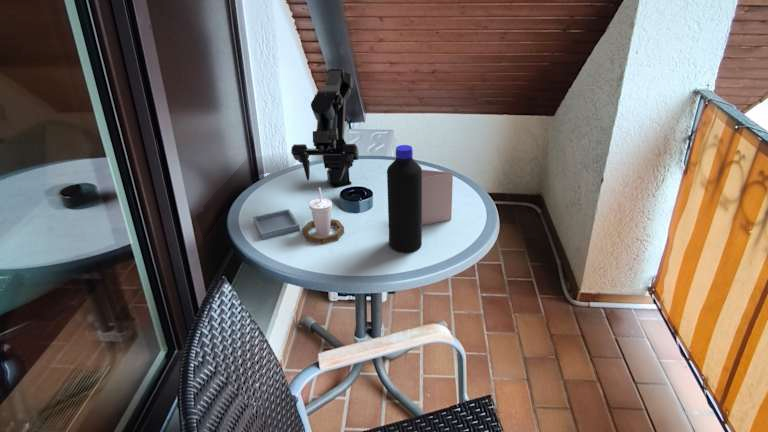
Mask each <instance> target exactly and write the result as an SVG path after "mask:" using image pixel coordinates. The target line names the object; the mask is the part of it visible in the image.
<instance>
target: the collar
mask: <svg viewBox="0 0 768 432" xmlns="http://www.w3.org/2000/svg"><path fill="white" fill-rule="evenodd" d="M330 227H334V228H336V229H337V230H336V232H334V233H330V234H329V235H327V236H323V237H320V236H318V235H312V234H310V231H311V230H312V229H316V228H315V224H314V220H310V221H308V222H307V223H306V224H305V225H304V226H303V227H302V228H301V231H302V232H301V233H302V236H303V237H304V239H305V240H306V242H307V243H310V244H311V243H312V244H317V245H325V244H329V243H334V242H337V241H339V240H340V239H341V237H342V236H343V235H344V234H345V227H344V225H343V224H342V223H341V221H340V220H338V219H334V218H333V219H332V218H331V222H330Z"/></svg>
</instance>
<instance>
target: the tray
mask: <svg viewBox="0 0 768 432" xmlns="http://www.w3.org/2000/svg"><path fill="white" fill-rule="evenodd" d="M291 211H292V210H290V209H289V208H286V209H283V210H278V211H274V212H269V213H265V214H261V215H257V216H256V215H255V216H253V217H252V222H253V225H254V227H255V229H256V231H257V232H258V235H259V236H260V238H261V241H264V240H268V239H272V238H277V237H281V236H285V235H289V234H293V233H298V232H301V227H300V224H299V222H298V220H297V219H296V217H295V216H294V215H293V213H292V212H291Z"/></svg>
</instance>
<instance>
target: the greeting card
mask: <svg viewBox="0 0 768 432" xmlns="http://www.w3.org/2000/svg"><path fill="white" fill-rule="evenodd" d="M453 175H454V172H449V171H437V170H428V169H422V226H424V225H430V224H435V223H441V222H447V221H451V220H452V212H453V211H452V210H453V209H452V208H453V185H454V184H453V177H454V176H453Z"/></svg>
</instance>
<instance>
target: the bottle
mask: <svg viewBox="0 0 768 432" xmlns="http://www.w3.org/2000/svg"><path fill="white" fill-rule="evenodd" d="M413 152H414V151H413V147H412V146H411V145H408V144H401V145H400V144H399V145H398V146H396V147H395V157H396V158H395V159H394V160H393V161H392V162H391V163H390V164H389V166H388V168H387V170H386V179H387V180H386V182H387V184H386V185H387V208H388V209H387V213H388V245H389V248H390V249H392V250H393V251H395V252H398V253H402V254H404V253H405V254H407V253H413V252H416V251H418V250H419V249H420V248H421V247H422V240H423V238H422V237H423V235H422V234H423V233H422V231H423V230H422V229H423V228H422V227H423V225H422V170H423V169H422V167H421V165H420V164H419V163H418V162H417V161H415V159H414V158H413V156H414V155H413Z"/></svg>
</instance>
